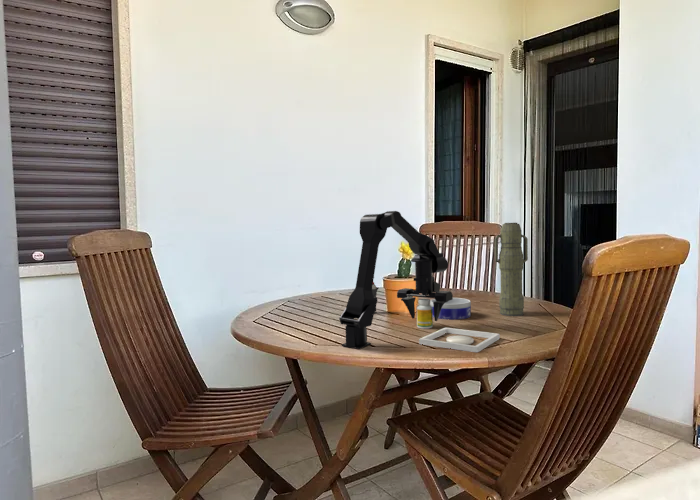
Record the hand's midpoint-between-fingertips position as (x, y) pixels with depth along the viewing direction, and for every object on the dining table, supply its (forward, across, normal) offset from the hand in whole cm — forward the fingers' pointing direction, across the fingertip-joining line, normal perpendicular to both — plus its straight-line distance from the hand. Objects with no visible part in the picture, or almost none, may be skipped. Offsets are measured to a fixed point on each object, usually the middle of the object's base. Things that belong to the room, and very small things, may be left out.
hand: (424, 319), depth 162 cm
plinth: (+3, -18, +12) cm, 22 cm away
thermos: (+3, -18, -37) cm, 41 cm away
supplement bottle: (+3, 0, 0) cm, 3 cm away
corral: (+3, -18, +12) cm, 22 cm away
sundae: (+3, +31, -13) cm, 34 cm away
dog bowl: (+3, +1, -23) cm, 23 cm away
